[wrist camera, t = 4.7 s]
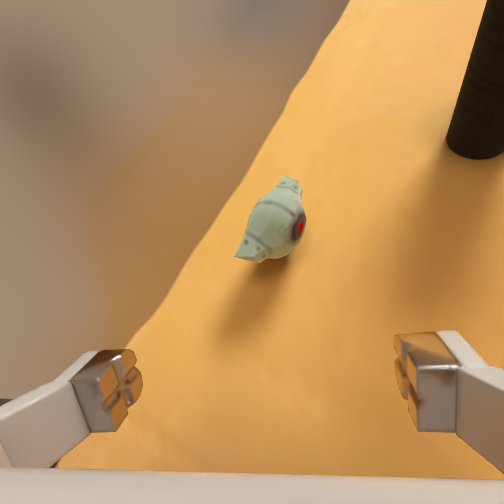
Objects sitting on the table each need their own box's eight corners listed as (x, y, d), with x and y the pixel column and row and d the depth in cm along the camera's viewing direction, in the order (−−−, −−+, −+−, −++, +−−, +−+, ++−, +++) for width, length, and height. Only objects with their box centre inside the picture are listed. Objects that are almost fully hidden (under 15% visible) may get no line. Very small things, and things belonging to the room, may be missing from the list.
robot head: (284, 207, 28) (273, 154, 23) (325, 221, 27) (325, 167, 21) (241, 278, 26) (217, 239, 20) (284, 298, 24) (270, 261, 18)
